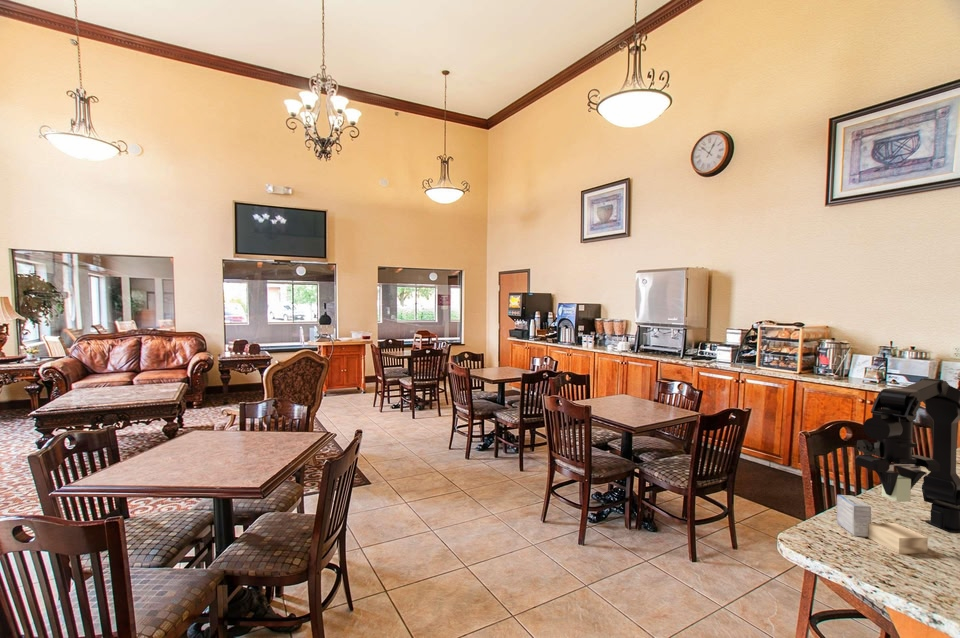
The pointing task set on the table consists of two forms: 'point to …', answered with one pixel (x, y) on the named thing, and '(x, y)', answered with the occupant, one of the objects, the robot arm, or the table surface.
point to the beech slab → (898, 538)
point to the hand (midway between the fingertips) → (896, 494)
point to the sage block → (900, 490)
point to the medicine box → (853, 515)
